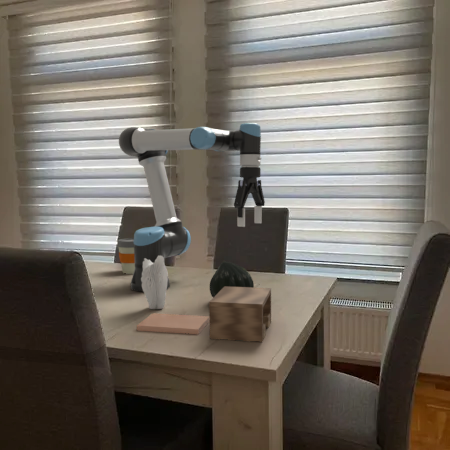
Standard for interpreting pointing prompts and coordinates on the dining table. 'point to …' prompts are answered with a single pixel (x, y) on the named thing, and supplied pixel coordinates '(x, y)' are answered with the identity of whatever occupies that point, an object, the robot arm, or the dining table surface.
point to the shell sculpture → (155, 282)
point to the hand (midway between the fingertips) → (249, 224)
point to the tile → (174, 323)
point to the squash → (229, 277)
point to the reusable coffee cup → (127, 255)
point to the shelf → (240, 313)
